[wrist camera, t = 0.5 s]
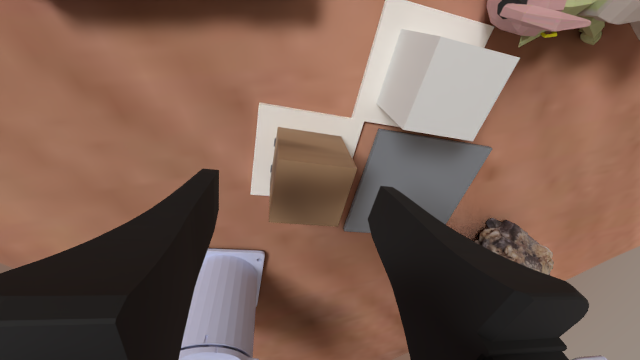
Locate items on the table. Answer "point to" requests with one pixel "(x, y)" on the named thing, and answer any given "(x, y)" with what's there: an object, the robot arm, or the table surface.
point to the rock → (516, 245)
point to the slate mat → (416, 174)
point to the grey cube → (442, 84)
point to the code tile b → (388, 30)
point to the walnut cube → (309, 178)
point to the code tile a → (299, 120)
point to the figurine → (562, 17)
